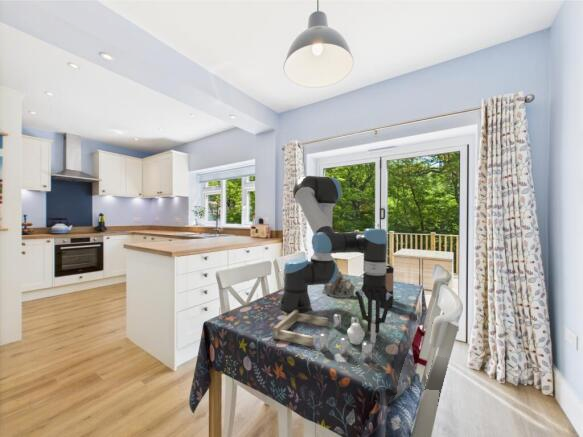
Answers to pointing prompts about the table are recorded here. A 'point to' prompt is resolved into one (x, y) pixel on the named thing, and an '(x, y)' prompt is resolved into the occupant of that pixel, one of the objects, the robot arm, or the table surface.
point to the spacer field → (346, 340)
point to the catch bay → (296, 337)
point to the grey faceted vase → (355, 333)
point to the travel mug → (388, 286)
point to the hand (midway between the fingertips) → (373, 340)
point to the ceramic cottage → (339, 287)
